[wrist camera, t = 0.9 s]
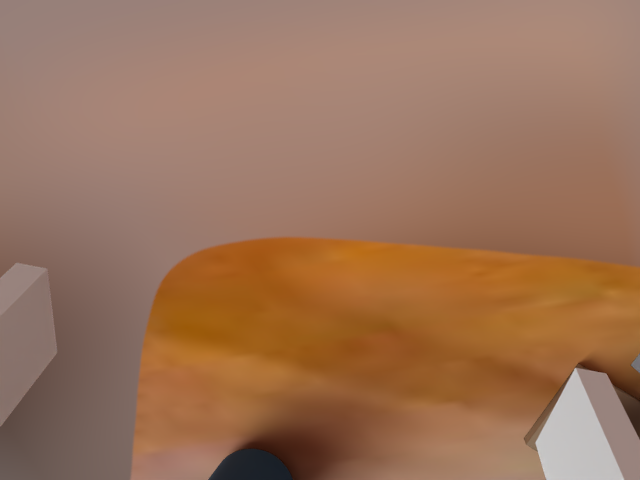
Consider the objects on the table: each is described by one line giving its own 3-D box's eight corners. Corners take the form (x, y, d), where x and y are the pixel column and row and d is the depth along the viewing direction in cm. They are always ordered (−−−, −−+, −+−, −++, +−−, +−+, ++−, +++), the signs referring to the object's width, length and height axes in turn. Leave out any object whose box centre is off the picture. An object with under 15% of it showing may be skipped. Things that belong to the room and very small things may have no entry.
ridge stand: (705, 441, 39) (755, 486, 33) (645, 516, 40) (683, 572, 34) (578, 363, 40) (604, 393, 34) (523, 438, 41) (540, 479, 35)
